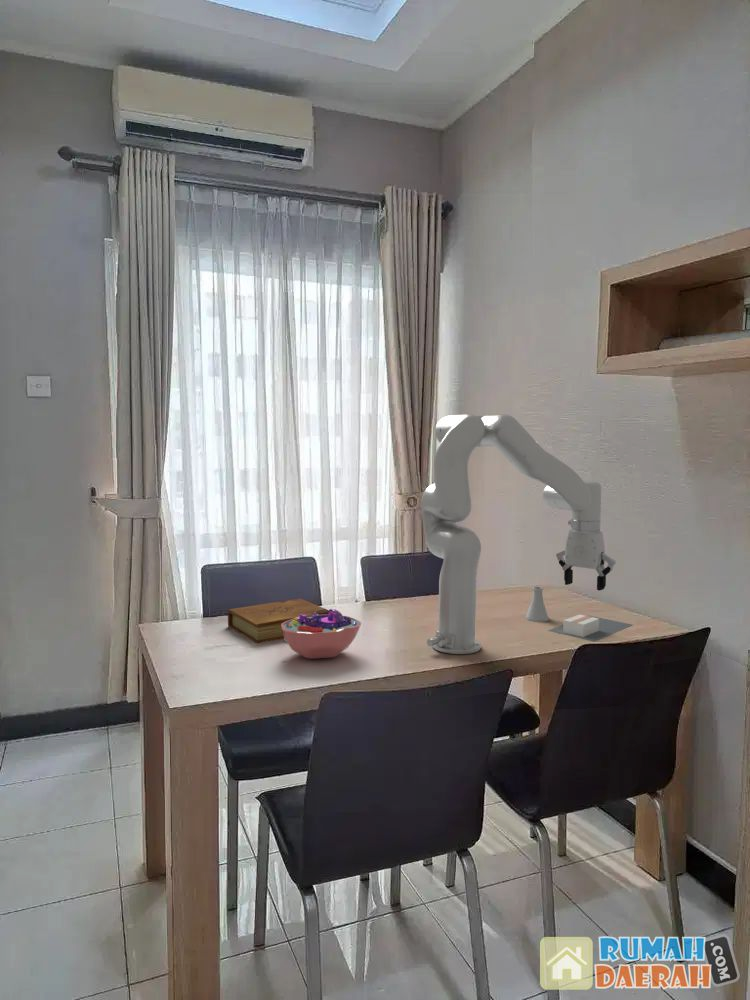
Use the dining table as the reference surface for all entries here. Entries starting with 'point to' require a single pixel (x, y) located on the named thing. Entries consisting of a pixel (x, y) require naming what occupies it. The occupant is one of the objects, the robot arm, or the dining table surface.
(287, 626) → the cell model
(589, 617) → the card deck
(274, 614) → the diary
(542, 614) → the flask
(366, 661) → the dining table surface
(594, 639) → the mat
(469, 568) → the robot arm
